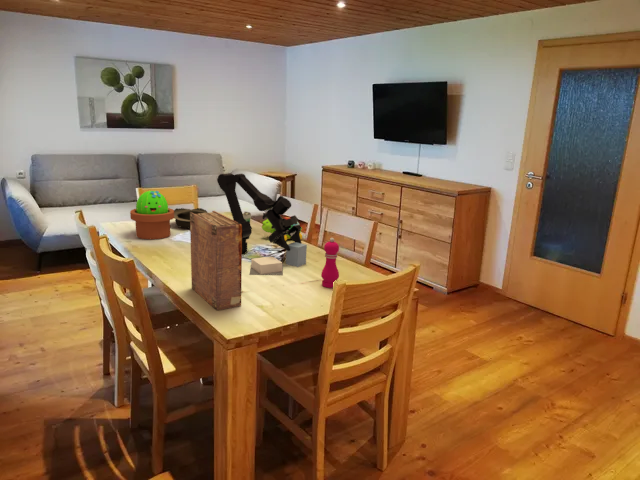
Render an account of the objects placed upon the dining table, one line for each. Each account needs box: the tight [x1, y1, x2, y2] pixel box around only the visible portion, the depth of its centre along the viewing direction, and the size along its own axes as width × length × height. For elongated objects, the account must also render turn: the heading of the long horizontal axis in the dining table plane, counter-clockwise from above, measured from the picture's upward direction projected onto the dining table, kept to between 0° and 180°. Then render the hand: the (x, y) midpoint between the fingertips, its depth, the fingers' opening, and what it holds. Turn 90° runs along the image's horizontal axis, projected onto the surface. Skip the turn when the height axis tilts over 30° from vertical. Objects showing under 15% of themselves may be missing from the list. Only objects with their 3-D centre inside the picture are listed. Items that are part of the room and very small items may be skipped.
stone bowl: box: [173, 207, 209, 230], centre depth 284 cm, size 25×25×9 cm
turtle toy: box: [261, 216, 303, 242], centre depth 266 cm, size 17×23×12 cm
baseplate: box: [248, 264, 284, 276], centre depth 210 cm, size 14×15×1 cm
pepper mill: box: [320, 237, 340, 289], centre depth 195 cm, size 7×7×20 cm
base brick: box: [250, 256, 283, 274], centre depth 209 cm, size 10×10×4 cm
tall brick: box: [285, 241, 308, 268], centre depth 219 cm, size 7×7×10 cm
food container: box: [242, 211, 253, 223], centre depth 279 cm, size 12×6×10 cm, turn 168°
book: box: [189, 210, 243, 311], centre depth 176 cm, size 25×9×30 cm, turn 34°
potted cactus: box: [129, 190, 175, 240], centre depth 257 cm, size 22×22×25 cm
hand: (295, 248), depth 218 cm, fingers open, 9 cm apart
